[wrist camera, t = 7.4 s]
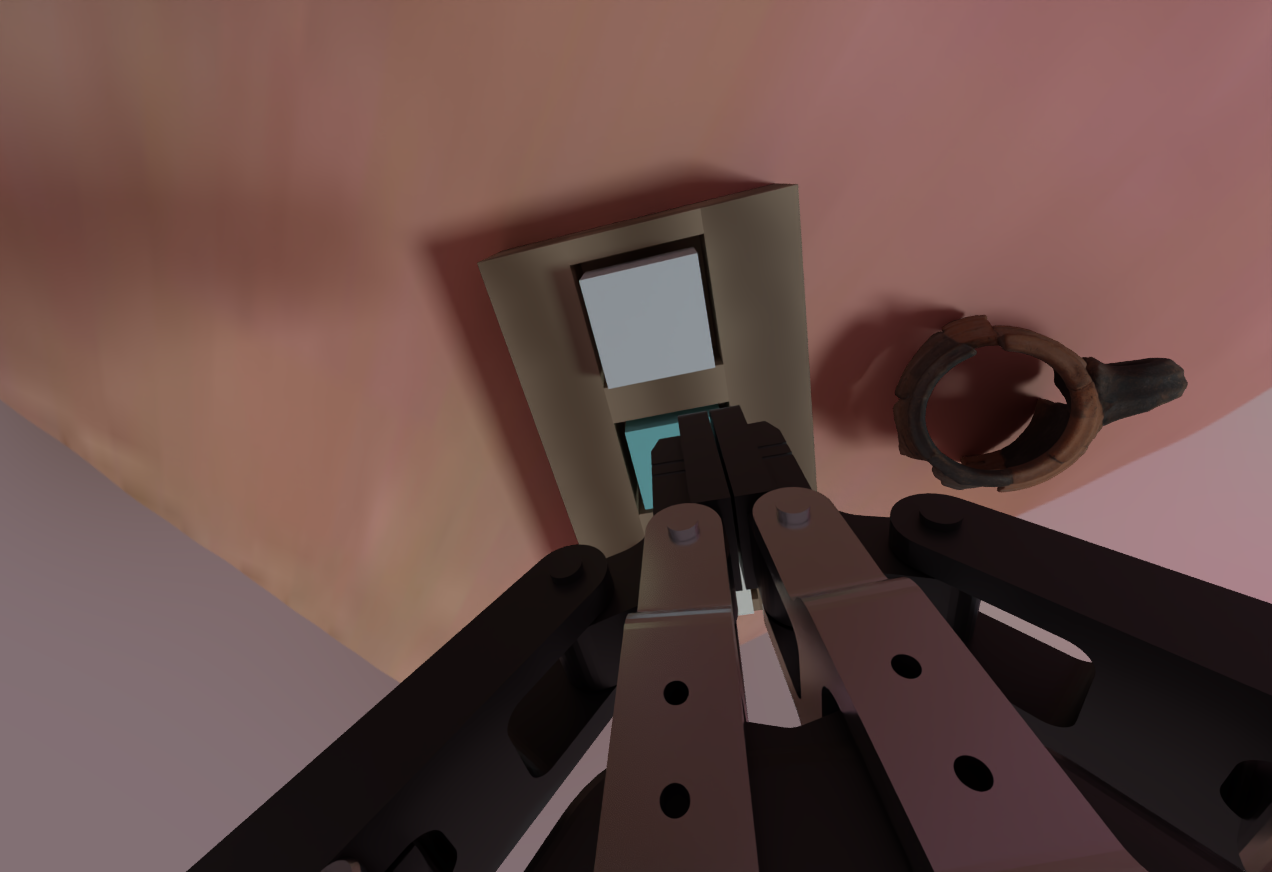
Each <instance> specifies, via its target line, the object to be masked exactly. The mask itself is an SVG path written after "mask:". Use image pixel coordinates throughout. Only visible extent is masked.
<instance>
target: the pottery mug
mask: <svg viewBox="0 0 1272 872" xmlns="http://www.w3.org/2000/svg"><path fill="white" fill-rule="evenodd" d="M942 331H943V332H937V333H935V334H933V335H932V336H931V337H930V338H929V339H928V340H927V341H926V342H925V343H924V345H923V346H922V347H921V348H920V349H919V351H918V352H917V353H916V354H915V356H914V357H913V358H912V360H911V361H910V362H909V364H908V366H907V367H906V369H905V370H904V372H903V374H902V376H901V379H900V381H899V383H898V385H897V387H896V390H895V395H896V396H897V397H899V398H900V399H899V401H898V402H897V403H895V405H894V407H893V412H894V420H895V424H896V429H897V432H898V439H899V451H900V454H901V455H906V456H908V457H910V458H913V459H918V460H924V461H928V462H929V463H930V464H931V465H932V466H933V467H932V472H933V474H934V476H935V477H936V478H937V479H939V480H941V484H942V485H944V486H946V487H950V488H953V489H957V490H963V489H967V488H976V487H982V486H983V487H998V488H997V491H998V492H1009V491H1016V490H1021V489H1025V488H1029V487H1032V486H1035V485H1038V484H1040V483H1043V482H1045V481H1047V480H1049V479H1051V478H1053V477H1055V476H1056V475H1058V474H1060V473H1061V472H1063V471H1064V470H1066V469H1067V468H1068V467H1070V466H1071V465H1072V464H1073V463H1075V462H1076V461H1077V460H1078V459H1079V457H1081V456H1082V455H1083V454H1084V453H1085V452H1086V450H1087V448H1088V446H1089V444H1090V443H1091V441H1092V440H1093V439H1094V438H1095V437H1096V435H1097V433H1098V432H1099V431H1100V430H1101V429H1102V427H1103V426H1104V425H1107V424H1109V423H1111V422H1114V421H1117V420H1119V419H1123V418H1126V417H1129V416H1133V415H1136V414H1140V413H1144V412H1148V411H1150V410H1152V409H1154V408H1156V407H1158V406H1160V405H1162V404H1165V403H1167V402H1170V401H1172V400H1174V399H1177V398H1179V397H1181V396H1182V394H1183V392H1184V390H1185V389H1186V387H1187V384H1188V383H1187V380H1186V379H1185V377H1184V370H1183V369H1182V368H1181V367H1180V366H1179V365H1177V364H1176V363H1175V362H1174V361H1172V360H1171V359H1167V358H1146V359H1140V360H1133V361H1125V362H1117V363H1109V364H1104V363H1102V362H1100V361H1098V360H1097V359H1095V358H1093V357H1089V358H1087V357H1083V358H1081V357H1080V356H1078V355H1077V354H1076V353H1075V352H1073V351H1072V350H1070V349H1068V348H1067V347H1065V346H1064V345H1062V344H1061V343H1059V342H1058V341H1055V340H1053V339H1051V338H1048V337H1046V336H1044V335H1041V334H1038V333H1036V332H1033V331H1031V330H1028V329H1023V328H1019V327H1012V326H991V324H990V322H989V321H988V320H987V316H986V315H980V316H979V315H975V316H970V317H966V318H962V319H959V320H955V321H952V322H950V323H948V324H947V325H946V326H943V327H942ZM983 346H1001V347H1002V348H1003V349H1004V350H1005V351H1011V352H1018V353H1023V354H1027V355H1031V356H1033V357H1036V358H1038V359H1040V360H1042V361H1044V362H1045V363H1047V364H1048V365H1049V366H1051V367H1052V368H1053V370H1054V383H1055V385H1056V387H1057V388H1058V389H1059V390H1060V392H1061V393H1062V395H1063V396H1064V397H1065V399H1066V402H1067V404H1063V403H1059V402H1057V403H1054V402H1052V401H1049V400H1046V399H1039V400H1037V404H1036V408H1035V413H1034V415H1033V417H1032V420H1031V422H1030V424H1029V425H1028V427H1027V428H1026V429H1025V430H1024V431H1023V433H1022V434H1021V435H1020V436H1019V437H1018V438H1017V439H1016V440H1015V441H1014V442H1012V443H1011V444H1010V445H1008V446H1006V447H1004V448H1003V449H1001V450H997V451H994V452H991V453H987V454H982V455H977V456H965V457H962V458H961V463H962V464H960V463H958V462H956V461H954V460H952V459H950V458H949V457H947V456H946V455H944V454H943V453H941V452H940V451H939V449H938V448H937V447H936V446H935V444H934V443H933V441H932V439H931V438H930V436H929V433H928V431H927V427H926V422H925V413H926V406H927V402H928V399H929V397H930V395H931V393H932V390H933V389H934V387H935V385H936V384H937V383H938V381H939V380H940V379H941V378H942V377H943V376H944V375H945V374H946V373H947V372H948V371H949V370H950V369H951V368H953V367H954V366H956V365H957V364H959V363H960V362H962V361H964V360H966V359H968V358H970V357H972V356H974V355H976V354H977V351H976V350H975V349H974V348H979V347H983Z"/></svg>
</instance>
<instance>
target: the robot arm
mask: <svg viewBox="0 0 1272 872" xmlns="http://www.w3.org/2000/svg"><path fill="white" fill-rule="evenodd" d="M709 416H710V420H709V417H708V413H707V411H702V412H696V413H690V414H685V415H679V416H677V417H678V424H679V431H680V436H674V437H668V438H662V439H659V440H658V442H657V443H656V445H655V446H654V448H653V449H652V451H651V465H652V495H653V517H652V518H651V519H650V521H649V522H648V524H647V526H646V530H645V537H644V538H643V539H642V540H641V541H640V542H639V543H637V544H636V545H634V546H633V547H631V548H629V549H627V550H625V551H623V552H620V553H618V554H615V555H613V556H610V557H608V558H606V557H605V555H604V554H603V553H602V552H601V551H600V550H599V549H597V548H595V547H593V546H590V545H581V544H577V545H570V546H566V547H563V548H560V549H557V550H555V551H553V552H551V553H550V554H548V555H547V556H545V557H544V558H543V559H541V560H540V561H539V562H538V563H537V564H536V565H535V566H534V567H532V568H531V569H530V570H529V571H528V572H527V573H526V574H524V575H523V576H522V577H521V578H520V579H519V580H518V581H516V582H515V583H514V584H513V585H512V586H511V587H510V588H508V589H507V590H506V591H505V592H504V593H503V594H502V595H501V596H499V597H498V598H497V599H496V600H495V601H494V602H493V603H491V604H490V605H489V606H488V607H487V608H486V609H485V610H483V611H482V612H481V613H480V614H479V615H478V616H477V617H475V618H474V619H473V620H472V621H471V622H470V623H469V624H468V625H466V626H465V627H464V628H463V629H462V630H461V631H460V632H458V633H457V634H456V635H455V636H454V637H453V638H452V639H450V640H449V641H448V642H447V643H446V644H445V645H444V646H442V647H441V648H440V649H439V650H438V651H437V652H436V653H435V654H433V655H432V656H431V657H430V658H429V659H428V660H427V661H425V662H424V663H423V664H422V665H421V666H420V667H419V668H417V669H416V670H415V671H414V672H413V673H412V674H411V675H410V676H408V677H407V678H406V679H405V680H404V681H403V682H402V683H400V684H399V685H398V686H397V687H396V688H395V689H394V690H393V691H391V692H390V693H389V694H388V695H387V696H386V697H384V698H383V699H382V700H381V701H380V702H379V703H378V704H377V705H375V706H374V707H373V708H372V709H371V710H370V711H369V712H367V713H366V714H365V715H364V716H363V717H362V718H361V719H359V720H358V721H357V722H356V723H355V724H354V725H353V726H352V727H351V728H349V729H348V730H347V731H346V732H345V733H344V734H342V735H341V736H340V737H339V738H338V739H337V740H336V741H334V742H333V743H332V744H331V745H330V746H329V747H328V748H327V749H325V750H324V751H323V752H322V753H321V754H320V755H318V756H317V757H316V758H315V759H314V760H313V761H312V762H311V763H309V764H308V765H307V766H306V767H305V768H304V769H303V770H302V771H300V772H299V773H298V774H297V775H296V776H295V777H293V778H292V779H291V780H290V781H289V782H288V783H287V784H285V785H284V786H283V787H282V788H281V789H280V790H279V791H278V792H276V793H275V794H274V795H273V796H272V797H271V798H270V799H268V800H267V801H266V802H265V803H264V804H263V805H262V806H260V807H259V808H258V809H257V810H256V811H255V812H254V813H252V814H251V815H250V816H249V817H248V818H247V819H246V820H245V821H243V822H242V823H241V824H240V825H239V826H238V827H237V828H235V829H234V830H233V831H232V832H231V833H230V834H229V835H227V836H226V837H225V838H224V839H223V840H222V841H221V842H219V843H218V844H217V845H216V846H215V847H214V848H213V849H212V850H210V851H209V852H208V853H207V854H206V855H205V856H204V857H202V858H201V859H200V860H199V861H198V862H197V863H196V864H194V865H193V866H192V867H191V868H190V869H189V870H188V871H186V872H496V871H497V869H498V868H499V867H500V865H501V864H502V863H503V861H504V860H505V858H506V857H507V856H508V854H509V853H510V852H511V851H512V849H513V848H514V847H515V845H516V844H517V843H518V841H519V840H520V839H521V837H522V836H523V835H524V833H525V832H526V831H527V829H528V828H529V826H530V825H531V824H532V823H533V821H534V820H535V819H536V818H537V816H538V815H539V814H540V812H541V811H542V810H543V808H544V807H545V806H546V804H547V803H548V802H549V800H550V799H551V798H552V796H553V795H554V794H555V792H556V791H557V790H558V788H559V787H560V786H561V784H562V783H563V782H564V780H565V779H566V778H567V776H568V775H569V774H570V772H571V771H572V770H573V768H574V767H575V766H576V765H577V763H578V762H579V760H580V759H581V758H582V757H583V755H584V754H585V753H586V751H587V750H588V749H589V747H590V746H591V745H592V743H593V742H594V741H595V739H596V738H597V737H598V735H599V734H600V733H601V731H602V730H603V729H604V727H605V726H606V725H607V723H608V722H609V721H610V719H611V718H612V717H613V721H612V728H611V736H610V744H609V753H608V761H607V768H606V769H605V770H604V771H602V772H601V773H600V774H598V775H597V776H596V777H595V778H594V779H593V780H592V781H591V782H590V783H589V784H588V785H586V786H585V787H584V788H583V790H582V791H581V792H580V793H579V794H578V795H577V797H576V798H575V799H574V800H573V801H572V802H571V804H570V805H569V806H568V808H567V809H566V810H565V812H564V813H563V815H562V816H561V818H560V819H559V820H558V822H557V823H556V825H555V826H554V828H553V829H552V831H551V832H550V834H549V835H548V836H547V838H546V839H545V841H544V843H543V844H542V845H541V847H540V848H539V850H538V851H537V853H536V854H535V856H534V857H533V859H532V860H531V862H530V863H529V865H528V866H527V868H526V869H525V871H524V872H1272V604H1270V603H1268V602H1265V601H1261V600H1259V599H1256V598H1253V597H1250V596H1247V595H1244V594H1241V593H1238V592H1235V591H1232V590H1229V589H1226V588H1223V587H1220V586H1217V585H1214V584H1211V583H1209V582H1205V581H1202V580H1200V579H1197V578H1194V577H1191V576H1188V575H1185V574H1182V573H1179V572H1176V571H1173V570H1170V569H1167V568H1164V567H1161V566H1158V565H1155V564H1152V563H1149V562H1147V561H1143V560H1141V559H1138V558H1135V557H1132V556H1129V555H1126V554H1123V553H1120V552H1117V551H1114V550H1111V549H1108V548H1105V547H1102V546H1099V545H1096V544H1093V543H1090V542H1087V541H1084V540H1082V539H1079V538H1076V537H1072V536H1070V535H1067V534H1063V533H1061V532H1058V531H1055V530H1052V529H1049V528H1046V527H1043V526H1040V525H1037V524H1034V523H1031V522H1028V521H1025V520H1022V519H1019V518H1017V517H1014V516H1011V515H1008V514H1005V513H1002V512H999V511H996V510H993V509H990V508H987V507H984V506H981V505H978V504H975V503H972V502H969V501H966V500H963V499H960V498H957V497H953V496H949V495H944V494H931V493H926V494H917V495H912V496H908V497H905V498H903V499H901V500H900V501H898V502H897V503H896V504H895V505H894V506H893V507H892V510H891V513H890V517H875V516H861V515H853V514H848V513H844V512H841V511H838V510H837V508H836V507H835V506H834V504H833V503H832V502H831V501H830V499H828V498H827V497H826V496H825V495H823V494H821V493H819V492H817V491H814V490H812V489H811V487H810V485H809V483H808V481H807V479H806V478H805V476H804V474H803V472H802V470H801V468H800V466H799V464H798V463H797V461H796V459H795V457H794V455H792V451H791V450H790V448H789V446H788V444H787V443H786V440H785V438H784V437H783V435H782V433H781V431H780V430H779V429H778V428H776V427H774V426H773V425H771V424H770V423H768V422H766V421H761V422H755V423H750V424H747V421H746V419H745V417H744V414H743V412H742V409H741V407H740V405H735V406H730V407H724V408H718V409H713V410H709ZM739 563H740V565H739ZM740 567H741V571H742V575H743V579H744V583H745V587H746V590H749V589H756V588H758V589H759V593H760V596H761V600H762V606H763V616H764V622H765V626H766V628H767V631H768V634H769V636H770V639H771V642H772V645H773V647H774V650H775V653H776V655H777V658H778V661H779V664H780V666H781V669H782V671H783V674H784V677H785V680H786V682H787V685H788V688H789V691H790V693H791V696H792V699H793V701H794V704H795V707H796V710H797V713H798V716H799V719H800V723H801V726H799V727H794V728H784V727H778V726H771V725H764V724H758V723H752V722H749V721H748V713H747V705H746V696H745V687H744V679H743V671H742V662H741V654H740V646H739V637H738V629H737V622H736V620H737V617H738V605H737V598H736V591H743V588H742V580H741V573H740ZM981 600H982V601H984V602H986V603H989V604H991V605H993V606H995V607H997V608H999V609H1001V610H1003V611H1006V612H1008V613H1010V614H1012V615H1014V616H1016V617H1018V618H1021V619H1023V620H1025V621H1027V622H1029V623H1031V624H1033V625H1035V626H1038V627H1040V628H1042V629H1044V630H1046V631H1048V632H1050V633H1052V634H1055V635H1057V636H1059V637H1061V638H1063V639H1065V640H1067V641H1069V642H1071V643H1072V644H1074V645H1076V646H1077V647H1078V648H1080V649H1081V650H1082V651H1083V652H1084V653H1085V654H1086V655H1087V656H1088V657H1089V658H1090V659H1091V661H1092V662H1086V661H1082V660H1079V659H1076V658H1074V657H1071V656H1070V655H1067V654H1066V653H1064V652H1062V651H1059V650H1057V649H1055V648H1053V647H1051V646H1049V645H1047V644H1045V643H1043V642H1041V641H1039V640H1037V639H1035V638H1033V637H1031V636H1028V635H1027V634H1024V633H1022V632H1020V631H1018V630H1016V629H1014V628H1012V627H1010V626H1008V625H1006V624H1004V623H1002V622H1000V621H998V620H996V619H993V618H991V617H989V616H987V615H985V614H983V613H981V612H979V606H980V601H981ZM1243 870H1244V871H1243Z"/></svg>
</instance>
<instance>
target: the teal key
mask: <svg viewBox="0 0 1272 872" xmlns="http://www.w3.org/2000/svg"><path fill="white" fill-rule="evenodd" d="M718 408H719V405H718V404H713V405H708V406H702V407H697V408H692V409H687V410H681V411H676V412H671V413H666V414H660V415H655V416H650V417H645V418H640V419H634V420H629V421H626V426H625V436H626V439H627V443H628V447H629V450H630V454H631V458H632V462H633V465H634V469H635V473H636V477H637V480H638V484H639V488H640V492H641V495H642V499H643V503H644V506H645V509H651V508H653V495H652V465H651V451H652V449H653V448H654V446H655V445H656V443H657V442H658V440H659V439H662V438H668V437H674V436H680V431H679V424H678V417H677V416H679V415H685V414H690V413H696V412H702V411H707V413H708V417H709V420H710V416H709V410H713V409H718Z"/></svg>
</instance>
